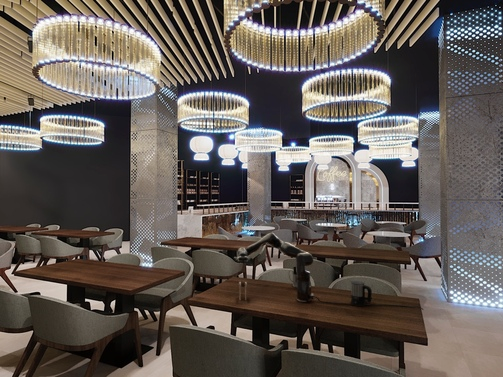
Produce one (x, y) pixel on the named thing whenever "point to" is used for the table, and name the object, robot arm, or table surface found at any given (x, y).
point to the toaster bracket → (240, 290)
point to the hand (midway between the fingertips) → (243, 260)
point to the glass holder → (294, 277)
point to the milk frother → (360, 293)
